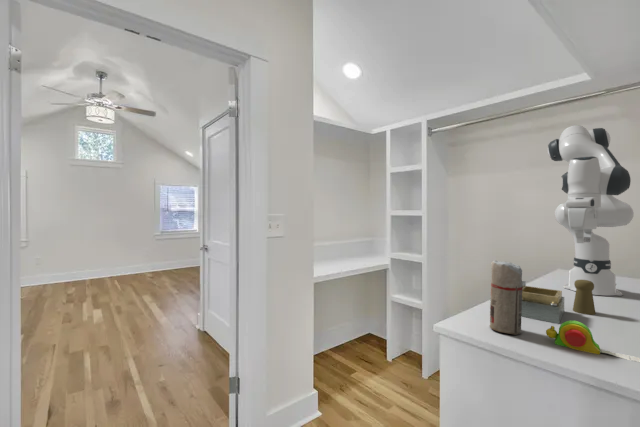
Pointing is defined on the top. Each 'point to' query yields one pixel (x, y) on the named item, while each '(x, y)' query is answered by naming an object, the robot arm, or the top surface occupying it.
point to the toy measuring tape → (580, 339)
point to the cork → (584, 297)
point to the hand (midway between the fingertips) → (583, 242)
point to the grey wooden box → (542, 303)
